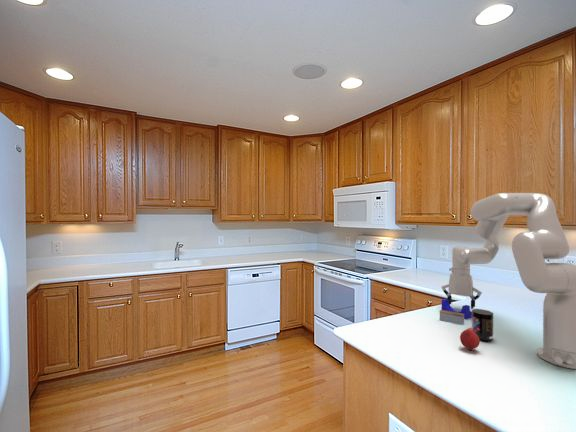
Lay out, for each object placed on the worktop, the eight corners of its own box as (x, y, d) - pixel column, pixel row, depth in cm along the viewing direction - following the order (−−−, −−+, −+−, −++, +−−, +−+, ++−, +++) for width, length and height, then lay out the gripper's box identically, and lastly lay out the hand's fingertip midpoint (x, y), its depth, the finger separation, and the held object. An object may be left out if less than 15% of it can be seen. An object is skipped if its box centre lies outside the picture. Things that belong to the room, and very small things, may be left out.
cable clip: (471, 318, 132) (471, 305, 132) (465, 319, 130) (465, 306, 130) (447, 310, 143) (447, 298, 143) (441, 311, 141) (441, 299, 141)
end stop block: (462, 325, 123) (462, 315, 123) (439, 320, 129) (439, 311, 129) (464, 323, 125) (464, 314, 125) (441, 318, 131) (441, 309, 131)
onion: (472, 355, 96) (472, 331, 96) (456, 348, 102) (456, 325, 102) (483, 352, 99) (483, 329, 99) (467, 345, 104) (467, 323, 104)
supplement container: (476, 334, 114) (476, 307, 114) (496, 340, 108) (496, 312, 108) (468, 338, 110) (468, 311, 110) (488, 344, 105) (489, 316, 105)
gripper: (439, 270, 145) (439, 304, 145) (480, 275, 134) (480, 311, 134) (443, 268, 151) (443, 300, 151) (483, 272, 139) (482, 308, 139)
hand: (460, 306), depth 142 cm, fingers open, 9 cm apart
